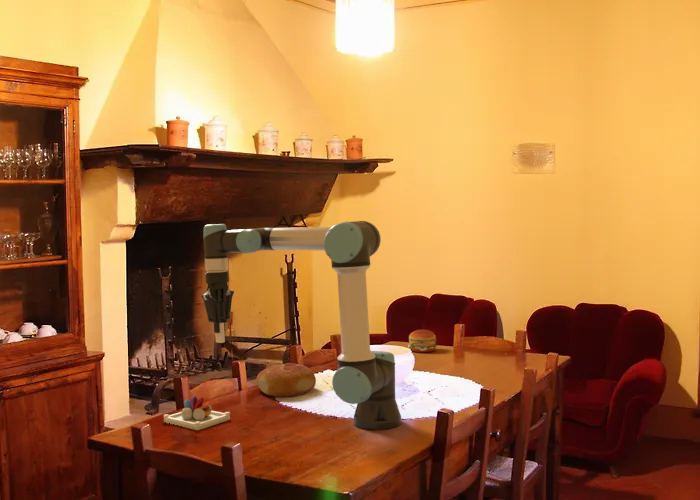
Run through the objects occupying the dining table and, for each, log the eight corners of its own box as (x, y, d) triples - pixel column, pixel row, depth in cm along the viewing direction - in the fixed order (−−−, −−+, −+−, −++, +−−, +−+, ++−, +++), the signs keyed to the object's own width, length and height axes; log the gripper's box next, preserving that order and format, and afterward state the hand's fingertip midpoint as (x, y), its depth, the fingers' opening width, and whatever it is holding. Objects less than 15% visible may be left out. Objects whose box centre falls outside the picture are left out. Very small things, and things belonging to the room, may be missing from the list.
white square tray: (231, 419, 255) (230, 412, 255) (197, 430, 244) (197, 423, 244) (196, 412, 265) (196, 405, 265) (162, 422, 254) (162, 415, 253)
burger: (406, 353, 358) (406, 332, 357) (409, 347, 371) (409, 327, 371) (436, 353, 356) (435, 332, 355) (437, 348, 369) (437, 327, 369)
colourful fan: (205, 422, 249) (204, 400, 249) (177, 421, 251) (176, 399, 251) (215, 415, 258) (214, 393, 257) (187, 413, 260) (187, 392, 259)
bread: (243, 396, 286) (242, 369, 285) (273, 382, 308) (272, 357, 307) (299, 401, 277) (298, 373, 277) (326, 386, 299) (325, 360, 298)
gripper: (222, 269, 263) (225, 338, 264) (194, 272, 252) (197, 344, 253) (239, 269, 258) (242, 339, 260) (210, 273, 248) (214, 346, 249)
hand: (220, 342), depth 257 cm, fingers closed
